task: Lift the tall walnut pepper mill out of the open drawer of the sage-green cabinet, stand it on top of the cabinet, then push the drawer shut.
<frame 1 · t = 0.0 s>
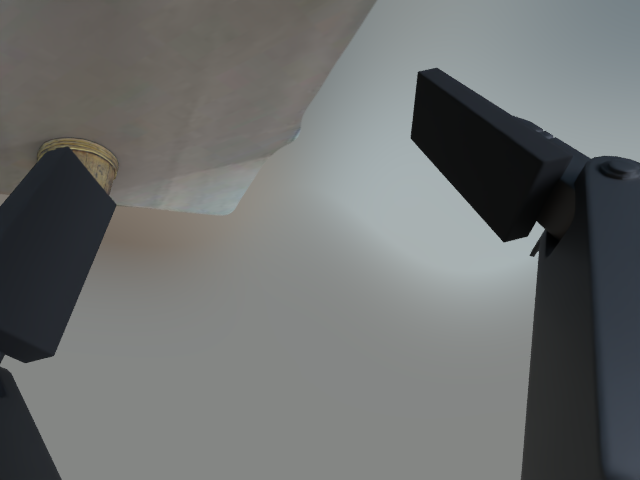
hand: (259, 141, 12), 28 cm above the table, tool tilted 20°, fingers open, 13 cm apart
wooden mug: (61, 155, 43), on the table
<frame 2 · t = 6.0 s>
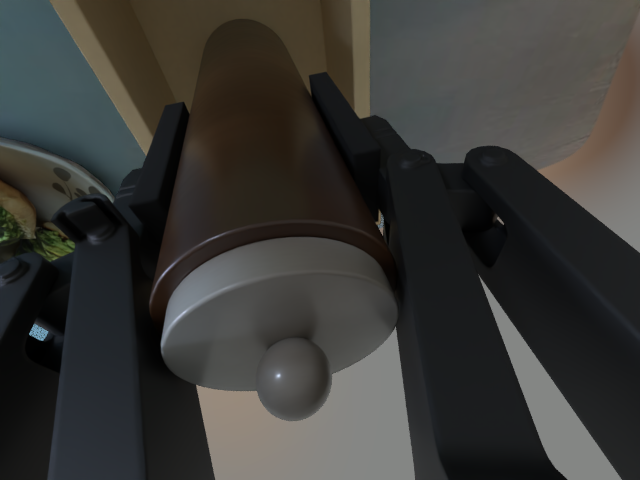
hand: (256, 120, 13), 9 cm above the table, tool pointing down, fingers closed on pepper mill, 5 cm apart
pepper mill: (248, 72, 18), point 2 cm above the table, touching drawer, gripper
salad plate: (1, 223, 23), on the table
drawer: (263, 129, 18), point 5 cm above the table, slide at 15.0 cm, touching pepper mill
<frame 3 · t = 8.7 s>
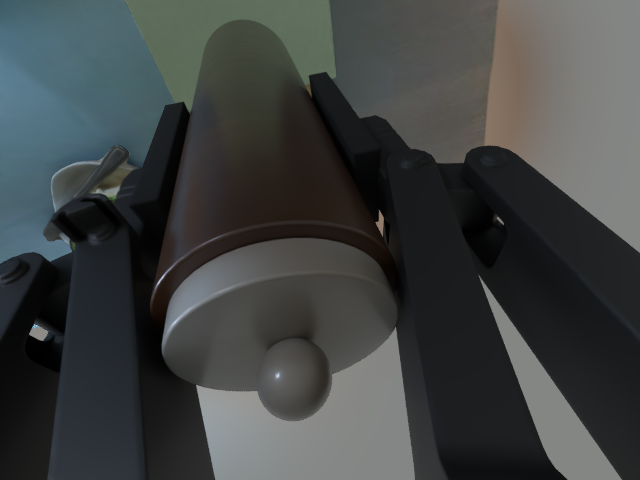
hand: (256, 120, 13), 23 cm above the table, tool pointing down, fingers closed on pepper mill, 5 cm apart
pepper mill: (249, 72, 18), point 16 cm above the table, touching gripper
salad plate: (130, 214, 41), on the table
drawer: (279, 164, 35), point 5 cm above the table, slide at 15.0 cm
when the fingers open (16 cm above the table, at t = 11.5 s): pepper mill stays where it is, resting on cabinet.
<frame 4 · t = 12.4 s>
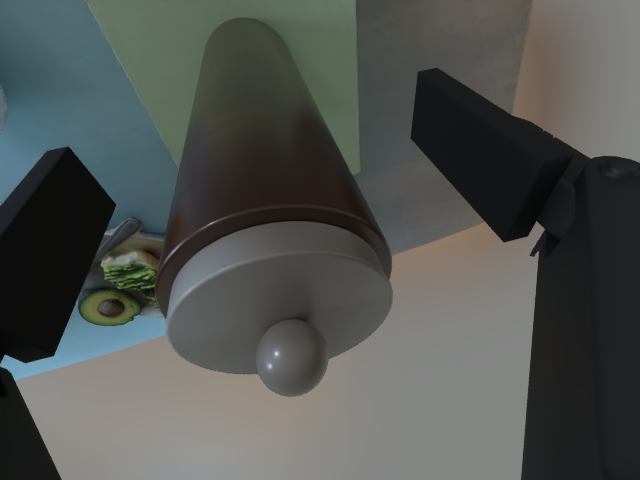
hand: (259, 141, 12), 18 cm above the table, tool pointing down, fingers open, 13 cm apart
pepper mill: (249, 70, 18), point 9 cm above the table, touching cabinet
salad plate: (139, 273, 41), on the table
cabinet: (244, 35, 24), on the table
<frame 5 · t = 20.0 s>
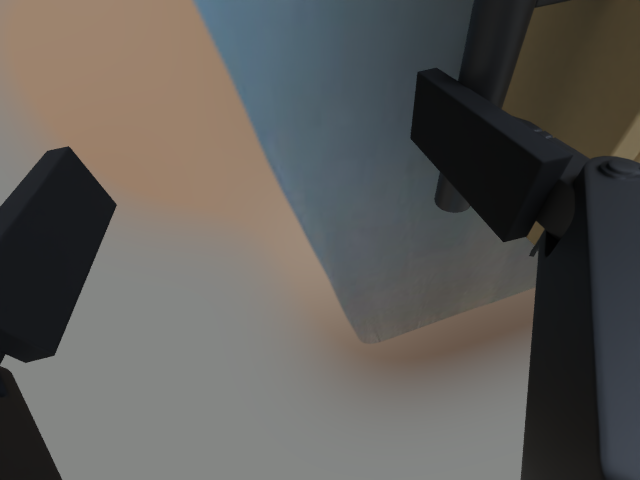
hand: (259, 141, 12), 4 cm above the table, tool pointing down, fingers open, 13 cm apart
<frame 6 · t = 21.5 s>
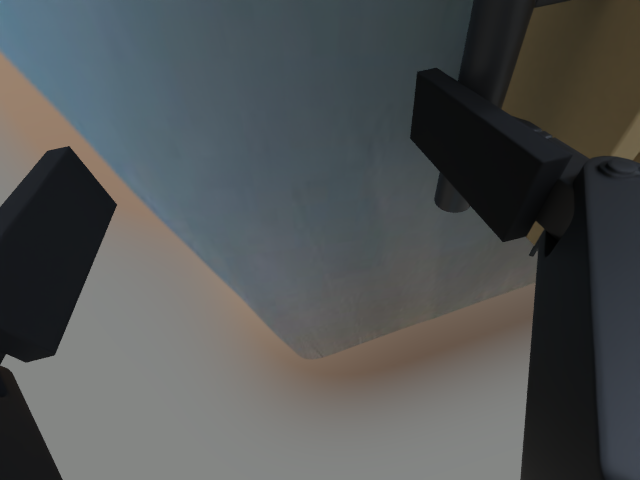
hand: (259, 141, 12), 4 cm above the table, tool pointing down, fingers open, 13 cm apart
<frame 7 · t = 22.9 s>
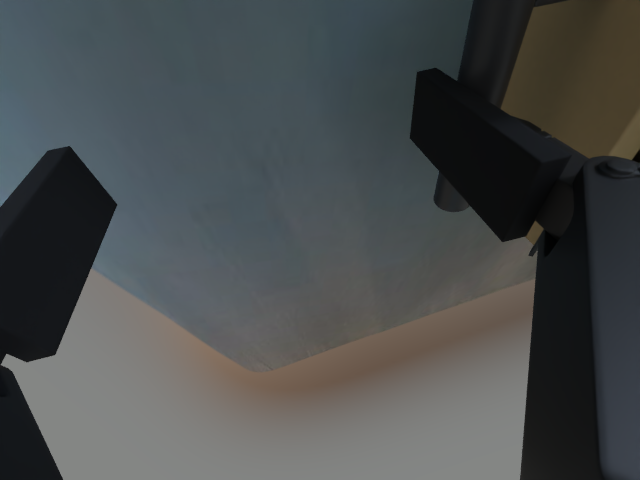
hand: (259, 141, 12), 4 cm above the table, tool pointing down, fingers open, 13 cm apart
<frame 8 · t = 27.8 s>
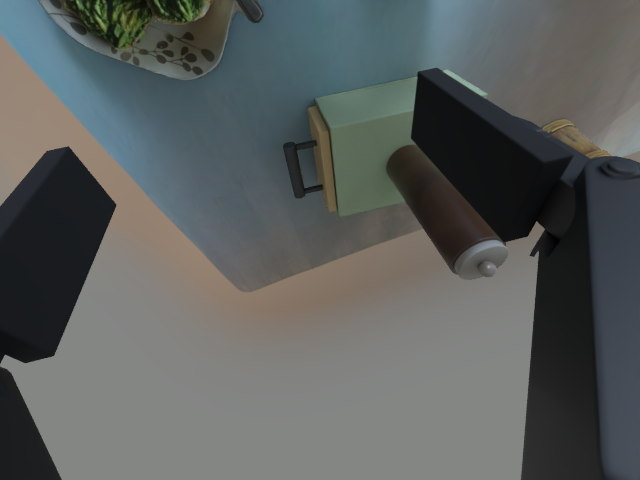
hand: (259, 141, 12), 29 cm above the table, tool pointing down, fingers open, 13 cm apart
pepper mill: (405, 163, 38), point 9 cm above the table, touching cabinet
wooden mug: (532, 148, 54), on the table
cabinet: (380, 131, 45), on the table
drawer: (364, 152, 41), point 5 cm above the table, slide at 0.1 cm
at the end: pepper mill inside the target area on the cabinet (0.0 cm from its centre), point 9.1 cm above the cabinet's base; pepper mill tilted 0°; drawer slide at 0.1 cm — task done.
